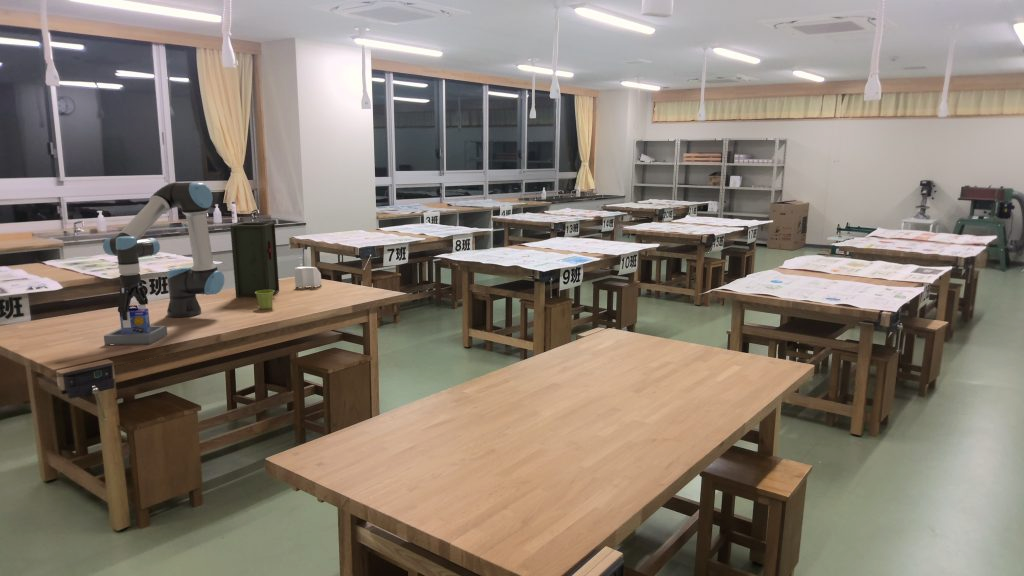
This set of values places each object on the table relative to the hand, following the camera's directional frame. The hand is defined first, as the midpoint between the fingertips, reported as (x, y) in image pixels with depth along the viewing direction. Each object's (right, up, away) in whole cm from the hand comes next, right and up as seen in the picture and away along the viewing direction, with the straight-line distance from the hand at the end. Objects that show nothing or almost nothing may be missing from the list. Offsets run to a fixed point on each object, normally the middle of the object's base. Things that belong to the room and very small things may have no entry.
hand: (135, 323), depth 282 cm
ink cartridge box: (0, -6, +1) cm, 7 cm away
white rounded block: (+36, +16, +122) cm, 128 cm away
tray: (0, -7, +1) cm, 7 cm away
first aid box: (+14, +11, +99) cm, 101 cm away
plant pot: (+32, +4, +63) cm, 71 cm away
